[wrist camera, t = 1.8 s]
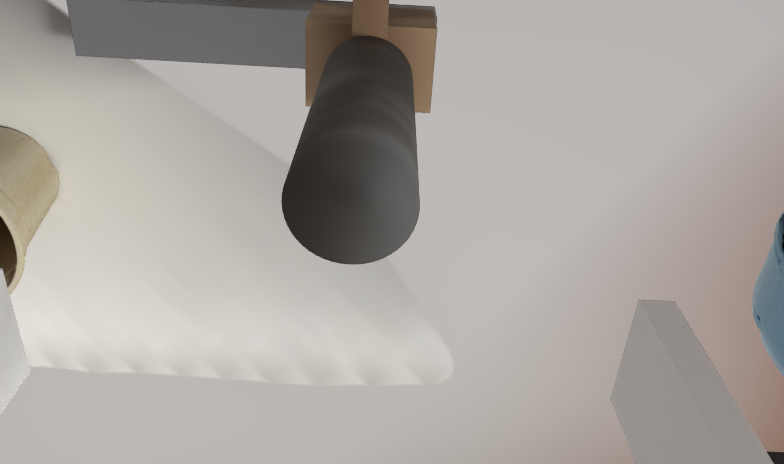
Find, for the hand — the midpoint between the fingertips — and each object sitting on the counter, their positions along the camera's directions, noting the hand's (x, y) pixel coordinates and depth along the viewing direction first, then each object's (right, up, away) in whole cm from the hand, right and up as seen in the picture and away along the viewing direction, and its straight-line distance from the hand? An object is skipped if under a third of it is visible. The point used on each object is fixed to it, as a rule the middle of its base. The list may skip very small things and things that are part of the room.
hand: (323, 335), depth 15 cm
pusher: (+1, +19, +20) cm, 28 cm away
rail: (-6, +14, +24) cm, 28 cm away
